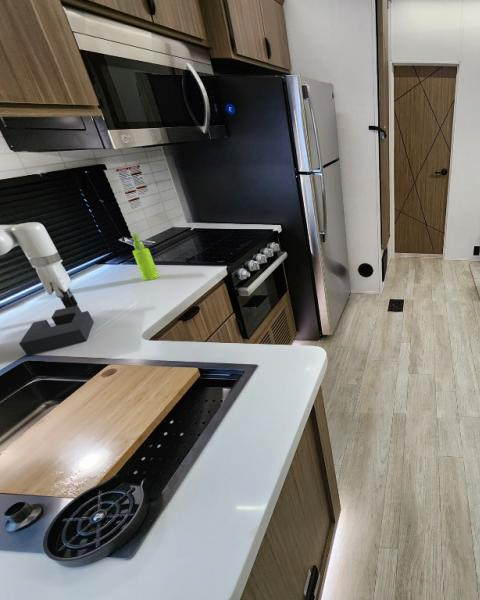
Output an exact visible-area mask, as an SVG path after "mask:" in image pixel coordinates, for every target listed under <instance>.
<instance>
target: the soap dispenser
mask: <svg viewBox="0 0 480 600" xmlns="http://www.w3.org/2000/svg"><path fill="white" fill-rule="evenodd" d="M130 236H131V237H132V239H133V241H134V242H133V243H132V245H133V248H134V250H132V254H133V258H134V259H135V262H136V264H137V267H138V269H139V271H140V274H141V276H142V279H143V281H152V280H151V279H153V280H155V278H156V279H158V278H159V277H160V274H159V272H158V270H157V266H156V264H155V261H154V259H153V256H152V254H151V251H150V249H149V248H147V247H145V245H144V243H143V241H141V240H140V238H139V235H138V233H130ZM158 276H159V277H158ZM157 277H158V278H157Z"/></svg>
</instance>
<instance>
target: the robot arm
mask: <svg viewBox="0 0 480 600" xmlns="http://www.w3.org/2000/svg"><path fill="white" fill-rule="evenodd" d="M17 246H19V247H20V248H21V250H22V252H23V253H24V254H25V257H26V259H27V260H28V262H29V264H30V265H31V267H32V268H33V269H35V271H36V273H37V275H38V279H39V280H40V282H41V284H42V286H43V288H44V291H45V292H46V293H47V295H49V296H51V295H53V293H55V295H56V297H57V298H59V300H60V301H61V303H62V304H63V307H64V308H68V307H73V306H78V304H79V303H78V302H77V299H76V297H75V296H74V294H73V292H72V290H71V288H70V286H71V284H72V279H71V278H70V275H69V274H68V272H67V271H66V269H65V267H64V266H63V264H62V262H63V258H62V257H61V255H60V253H59V251H58V250H57V248H56V246H55V244H54V242H53V240H52V238H51V236H50V235H49V232H48V231H47V229H46V227H45V226H44V225H43V224H42V223H41V222H37V221H36V222H35V221H32V222H24V223H17V224H0V256H3V255H5V254H7V253H8V252H10V251H11V250H12V249H14V248H15V247H16V248H17Z"/></svg>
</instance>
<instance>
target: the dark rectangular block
mask: <svg viewBox="0 0 480 600" xmlns="http://www.w3.org/2000/svg"><path fill="white" fill-rule="evenodd" d="M93 325H94V320H93V317H92V315H91V314H90V312H89V310H86V311H81V312H80V313H76V314H75V316H74V318H73V321H72V323H67V324H63V325H58V326H56V325H54V326H51V324H50V323H49V322H48V320H47V319H43V320H39V321H33V322H32V324H31V325H30V326H29V328H28V330H27V331H26V332H25V333H24V335H23V336H22V339H21V340H20V342H19V343H18V344H19V346H20V348H21V349H22V350H23V352H24V353H25V355H26V356H27V355H28V356H31V355H35V354H39V353H44V352H47V351H52V350H56V349H60V348H64V347H68V346H73V345H76V344H80V343H86V342H87V341H88V339H89V336H90V332H91V331H92V327H93Z"/></svg>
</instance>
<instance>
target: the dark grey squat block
mask: <svg viewBox="0 0 480 600" xmlns="http://www.w3.org/2000/svg"><path fill="white" fill-rule="evenodd" d="M80 312H82V310H81V308H80V306H79V305H77V306H73V307H68V308H65V307H64V308H58V309H55V311H54V312H53V314H52V316H51V320H52V321H53V323H54V325H55V326H58V325H63V324H67V323H72V321H73V318H74V316H75V314H76V313H80Z"/></svg>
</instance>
